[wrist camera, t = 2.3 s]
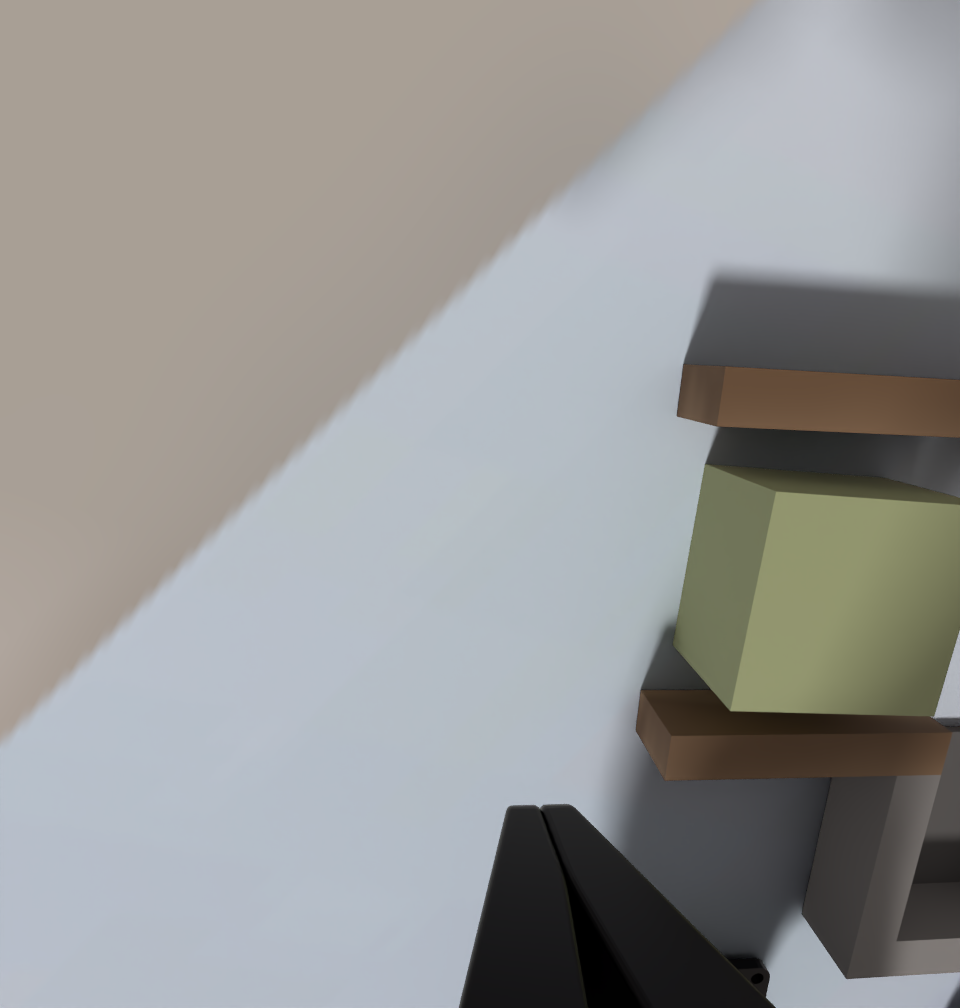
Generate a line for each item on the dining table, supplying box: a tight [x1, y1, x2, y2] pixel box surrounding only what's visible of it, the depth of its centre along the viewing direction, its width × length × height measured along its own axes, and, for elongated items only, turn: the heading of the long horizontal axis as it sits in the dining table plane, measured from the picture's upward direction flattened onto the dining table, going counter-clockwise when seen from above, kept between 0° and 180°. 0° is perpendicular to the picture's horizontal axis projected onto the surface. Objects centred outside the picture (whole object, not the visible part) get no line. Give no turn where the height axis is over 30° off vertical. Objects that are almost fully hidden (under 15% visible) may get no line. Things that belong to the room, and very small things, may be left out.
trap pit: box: [802, 727, 960, 979], centre depth 22 cm, size 8×8×2 cm
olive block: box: [673, 464, 960, 717], centre depth 18 cm, size 6×6×4 cm
